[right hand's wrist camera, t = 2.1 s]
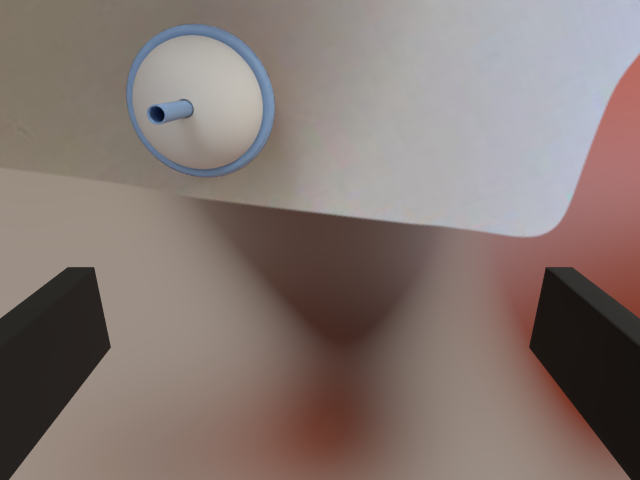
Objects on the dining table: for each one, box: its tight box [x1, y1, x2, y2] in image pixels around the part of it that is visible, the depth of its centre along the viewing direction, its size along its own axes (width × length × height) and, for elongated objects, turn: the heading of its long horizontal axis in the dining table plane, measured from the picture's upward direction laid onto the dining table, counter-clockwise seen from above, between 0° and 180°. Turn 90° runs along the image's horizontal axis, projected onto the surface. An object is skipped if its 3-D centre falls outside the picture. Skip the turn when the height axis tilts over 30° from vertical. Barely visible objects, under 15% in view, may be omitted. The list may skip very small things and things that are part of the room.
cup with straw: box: [126, 24, 275, 177], centre depth 28 cm, size 9×9×18 cm
